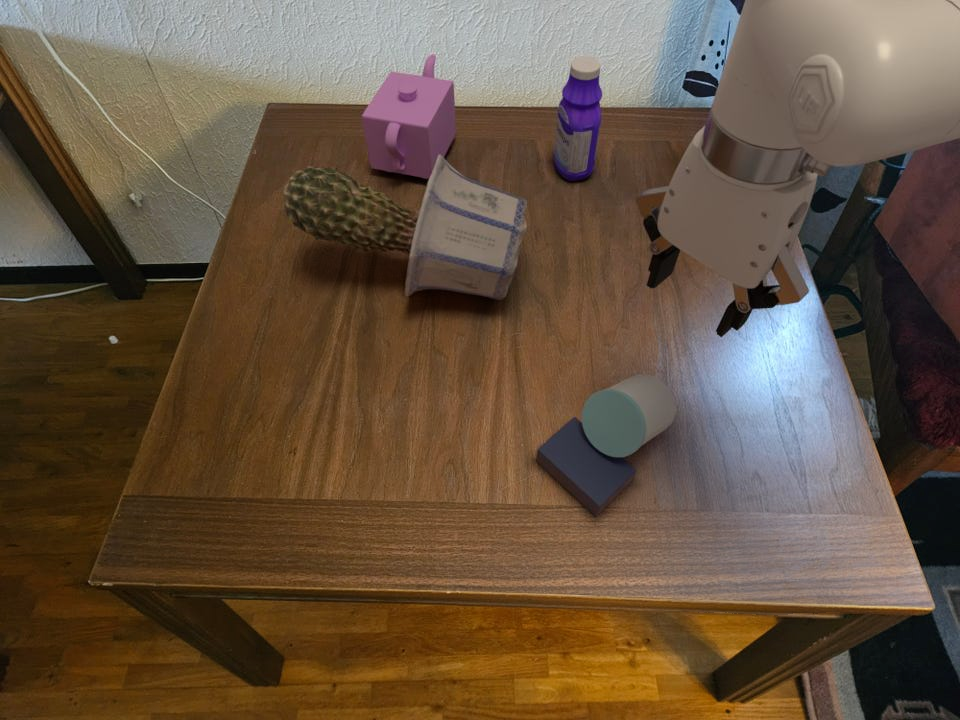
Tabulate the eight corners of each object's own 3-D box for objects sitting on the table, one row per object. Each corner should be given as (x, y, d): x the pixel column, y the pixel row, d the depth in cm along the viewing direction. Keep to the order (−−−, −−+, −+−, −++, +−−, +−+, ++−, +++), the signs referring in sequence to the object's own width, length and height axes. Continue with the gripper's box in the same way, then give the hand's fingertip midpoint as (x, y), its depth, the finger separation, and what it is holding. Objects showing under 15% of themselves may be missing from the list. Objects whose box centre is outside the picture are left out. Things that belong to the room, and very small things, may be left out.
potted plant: (544, 153, 80) (305, 87, 76) (531, 262, 70) (258, 192, 67) (508, 244, 94) (307, 191, 91) (494, 343, 85) (268, 290, 81)
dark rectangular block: (632, 481, 70) (637, 470, 67) (595, 517, 68) (599, 506, 65) (571, 428, 74) (574, 415, 71) (535, 460, 71) (536, 448, 69)
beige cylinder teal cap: (627, 388, 77) (642, 339, 68) (676, 427, 73) (698, 381, 65) (567, 442, 73) (576, 397, 64) (616, 485, 70) (632, 444, 61)
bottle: (547, 158, 102) (556, 53, 87) (580, 151, 103) (594, 46, 88) (564, 187, 98) (576, 82, 83) (598, 179, 99) (616, 74, 84)
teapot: (428, 198, 97) (420, 126, 86) (366, 186, 98) (352, 114, 88) (466, 121, 108) (464, 49, 97) (410, 112, 109) (402, 40, 99)
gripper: (904, 173, 42) (798, 335, 57) (689, 68, 49) (644, 235, 64) (846, 228, 39) (749, 383, 54) (627, 107, 47) (594, 273, 61)
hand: (692, 302), depth 59 cm, fingers open, 7 cm apart
